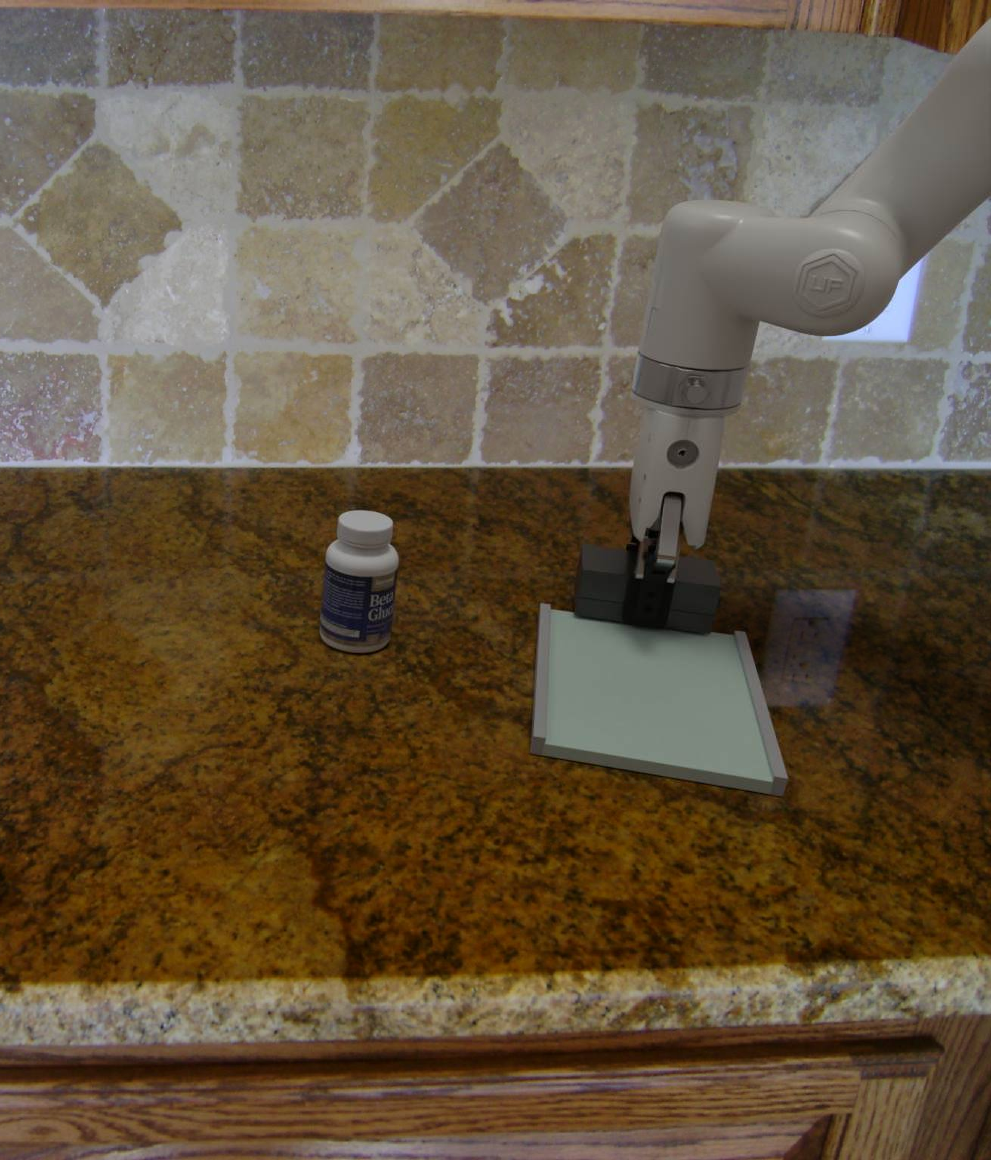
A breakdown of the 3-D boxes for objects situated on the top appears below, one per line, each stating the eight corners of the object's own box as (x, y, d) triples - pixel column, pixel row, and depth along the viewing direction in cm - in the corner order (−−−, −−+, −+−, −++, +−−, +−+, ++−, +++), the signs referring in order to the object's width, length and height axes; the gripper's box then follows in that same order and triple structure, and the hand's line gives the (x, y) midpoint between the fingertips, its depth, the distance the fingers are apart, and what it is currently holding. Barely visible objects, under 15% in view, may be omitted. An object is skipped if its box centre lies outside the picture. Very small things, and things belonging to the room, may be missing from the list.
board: (741, 647, 89) (745, 631, 89) (783, 797, 72) (788, 778, 71) (537, 618, 93) (540, 602, 92) (530, 753, 75) (533, 735, 75)
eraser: (703, 606, 93) (714, 560, 91) (710, 634, 88) (721, 587, 86) (573, 588, 95) (581, 543, 93) (574, 615, 90) (582, 568, 89)
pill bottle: (374, 662, 85) (386, 540, 81) (307, 643, 88) (316, 524, 83) (400, 632, 90) (413, 515, 85) (336, 615, 92) (346, 500, 88)
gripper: (761, 422, 75) (702, 667, 83) (728, 358, 90) (681, 570, 98) (640, 410, 77) (593, 651, 85) (627, 349, 92) (589, 559, 100)
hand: (641, 605), depth 91 cm, fingers closed on eraser, 5 cm apart
